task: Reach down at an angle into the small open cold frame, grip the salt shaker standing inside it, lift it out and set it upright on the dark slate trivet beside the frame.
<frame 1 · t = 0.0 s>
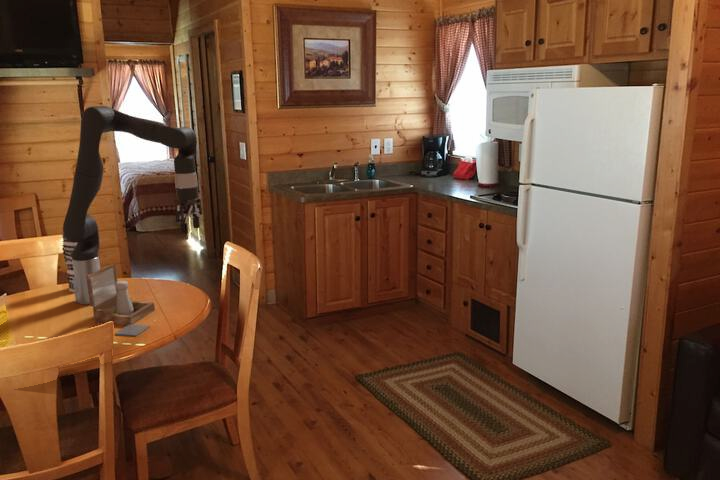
hand: (190, 230, 215), 29 cm above the table, tool pointing down, fingers open, 8 cm apart
trivet: (132, 331, 203), on the table
salt shaker: (125, 316, 216), resting in cold frame
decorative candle: (80, 288, 247), on the table
cold frame: (125, 316, 216), on the table
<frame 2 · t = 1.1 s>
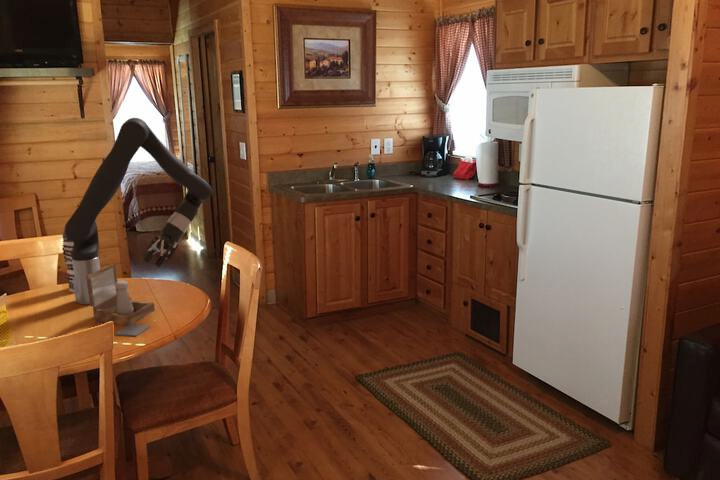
hand: (150, 263, 220), 17 cm above the table, tool tilted 45°, fingers open, 8 cm apart
nothing on the table moved.
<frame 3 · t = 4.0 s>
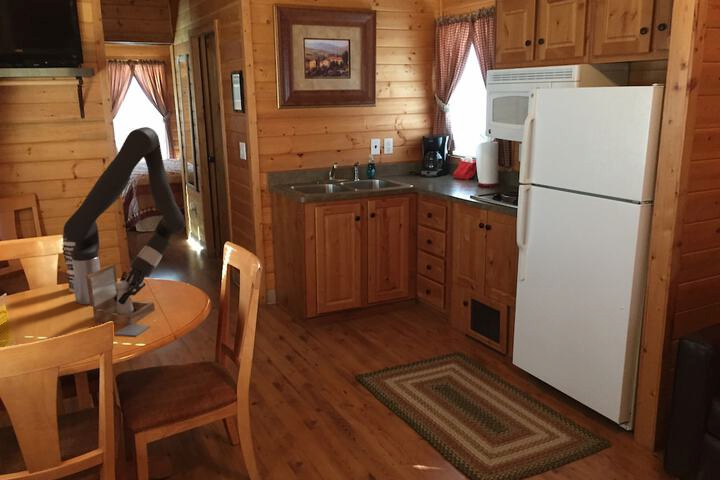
hand: (118, 302, 213), 6 cm above the table, tool tilted 45°, fingers closed on salt shaker, 3 cm apart
salt shaker: (125, 316, 216), resting in cold frame, touching gripper
everything else where it was.
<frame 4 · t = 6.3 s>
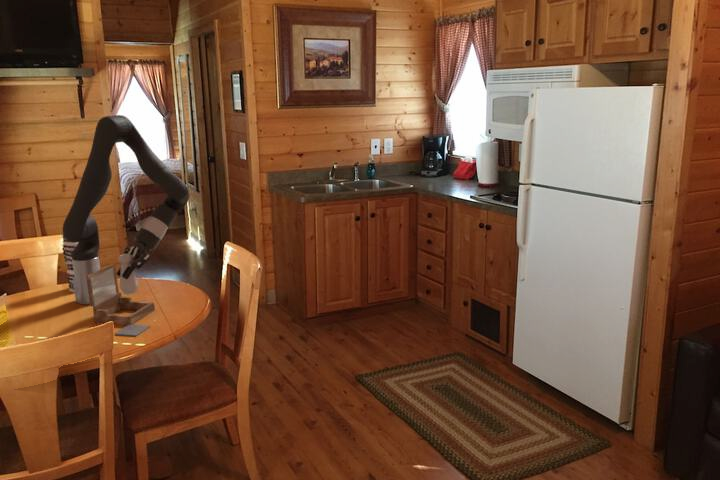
hand: (121, 276, 198), 19 cm above the table, tool tilted 45°, fingers closed on salt shaker, 3 cm apart
salt shaker: (130, 292, 201), point 13 cm above the table, touching gripper
everything else where it was.
when the fingers open (7 cm above the table, at t = 8.9 s): salt shaker moves 2 cm, resting on trivet.
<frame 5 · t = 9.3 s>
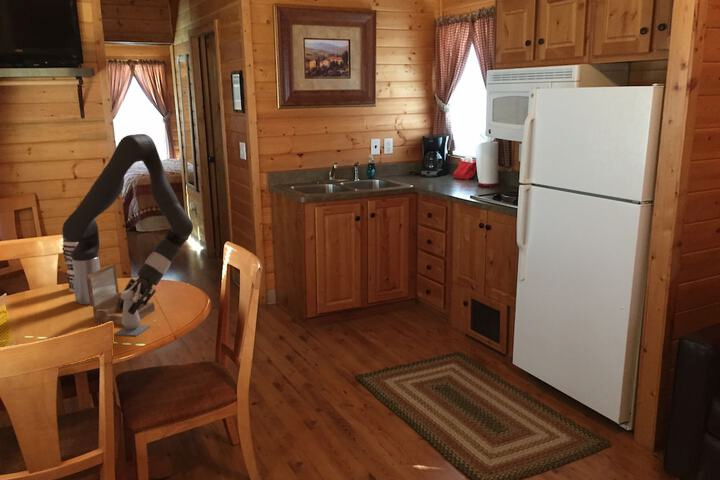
hand: (125, 310, 200), 8 cm above the table, tool tilted 45°, fingers open, 6 cm apart
salt shaker: (131, 327, 205), resting on trivet, touching gripper
everything else where it was.
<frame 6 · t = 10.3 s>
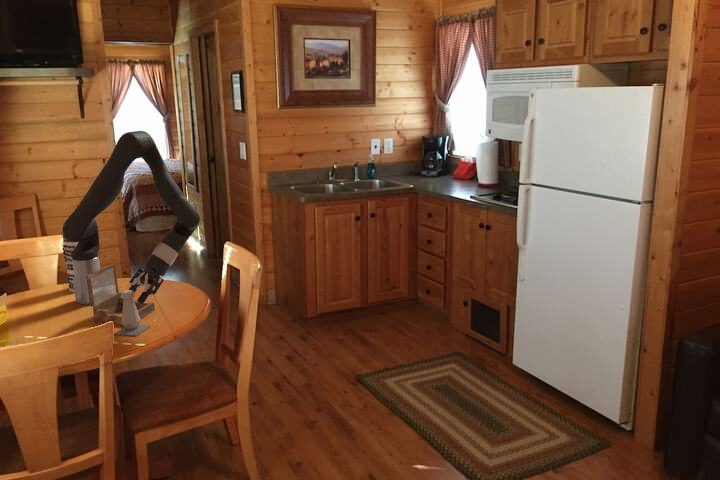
hand: (133, 299, 201), 11 cm above the table, tool tilted 45°, fingers open, 8 cm apart
salt shaker: (131, 327, 205), resting on trivet
everything else where it was.
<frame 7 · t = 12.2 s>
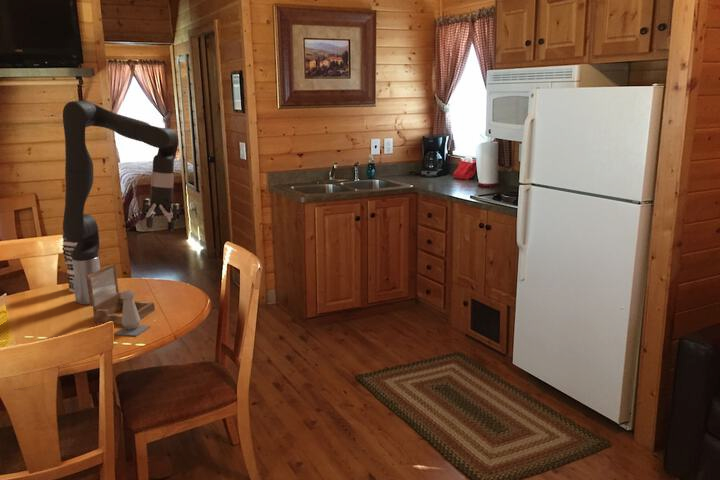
hand: (159, 229, 217), 29 cm above the table, tool pointing down, fingers open, 8 cm apart
nothing on the table moved.
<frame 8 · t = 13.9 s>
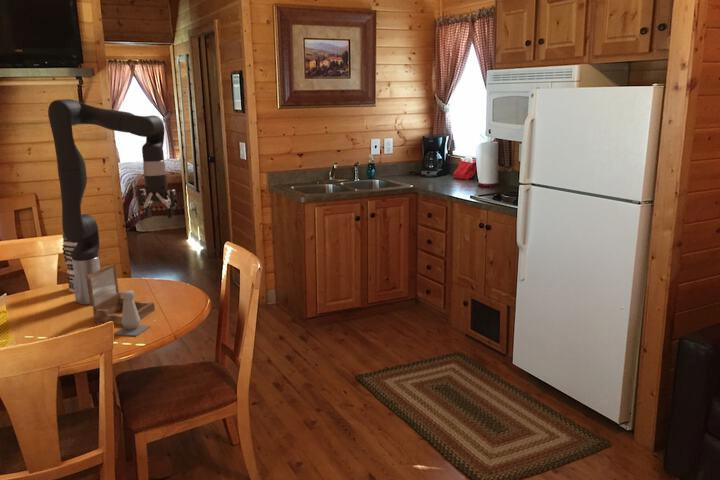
hand: (159, 217, 219), 33 cm above the table, tool pointing down, fingers open, 8 cm apart
nothing on the table moved.
at the end: salt shaker inside the target area on the trivet (2.1 cm from its centre), point 0.3 cm above the trivet's base; salt shaker tilted 0°; the gripper is holding nothing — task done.
